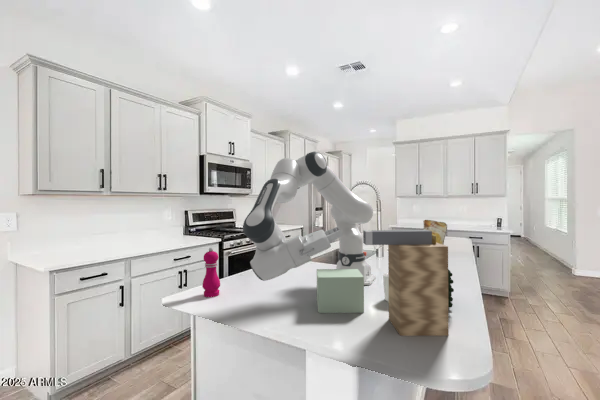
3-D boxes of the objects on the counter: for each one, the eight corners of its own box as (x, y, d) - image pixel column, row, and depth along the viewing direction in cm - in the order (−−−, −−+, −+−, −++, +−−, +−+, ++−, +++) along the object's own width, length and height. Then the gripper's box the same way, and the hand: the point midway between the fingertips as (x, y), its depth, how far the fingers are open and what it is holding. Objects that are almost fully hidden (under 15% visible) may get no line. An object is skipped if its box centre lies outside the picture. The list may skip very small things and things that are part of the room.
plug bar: (365, 245, 93) (365, 231, 93) (363, 242, 97) (363, 230, 97) (431, 244, 93) (431, 230, 93) (426, 242, 97) (426, 229, 97)
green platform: (318, 312, 107) (318, 277, 107) (316, 301, 119) (316, 269, 119) (364, 312, 107) (363, 277, 107) (357, 300, 119) (357, 268, 119)
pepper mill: (223, 293, 130) (223, 246, 130) (213, 298, 124) (213, 249, 123) (209, 291, 133) (208, 245, 133) (198, 296, 126) (198, 248, 126)
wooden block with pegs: (400, 335, 89) (399, 238, 89) (388, 319, 101) (388, 233, 101) (448, 335, 89) (448, 237, 89) (431, 319, 101) (430, 232, 101)
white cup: (401, 305, 114) (401, 278, 114) (380, 301, 118) (380, 275, 118) (406, 299, 121) (406, 273, 121) (386, 295, 125) (386, 271, 125)
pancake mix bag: (429, 271, 165) (429, 219, 165) (449, 280, 146) (448, 222, 146) (417, 271, 165) (417, 219, 164) (435, 281, 146) (435, 222, 145)
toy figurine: (461, 318, 105) (442, 290, 129) (462, 265, 103) (443, 246, 127) (431, 316, 107) (419, 289, 131) (432, 264, 105) (419, 246, 129)
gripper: (294, 245, 85) (339, 224, 85) (297, 236, 106) (333, 219, 105) (304, 266, 85) (349, 244, 85) (305, 253, 106) (341, 235, 105)
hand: (340, 230), depth 95 cm, fingers open, 8 cm apart
